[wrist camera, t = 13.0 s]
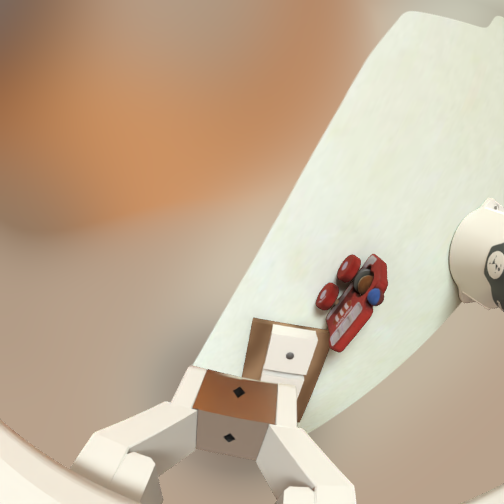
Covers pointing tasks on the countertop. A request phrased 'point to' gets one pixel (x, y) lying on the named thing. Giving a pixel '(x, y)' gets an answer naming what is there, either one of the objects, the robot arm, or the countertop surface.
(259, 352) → the walnut board
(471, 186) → the countertop surface
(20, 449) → the robot arm
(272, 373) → the two-pip tile
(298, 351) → the one-pip tile
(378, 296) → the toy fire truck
